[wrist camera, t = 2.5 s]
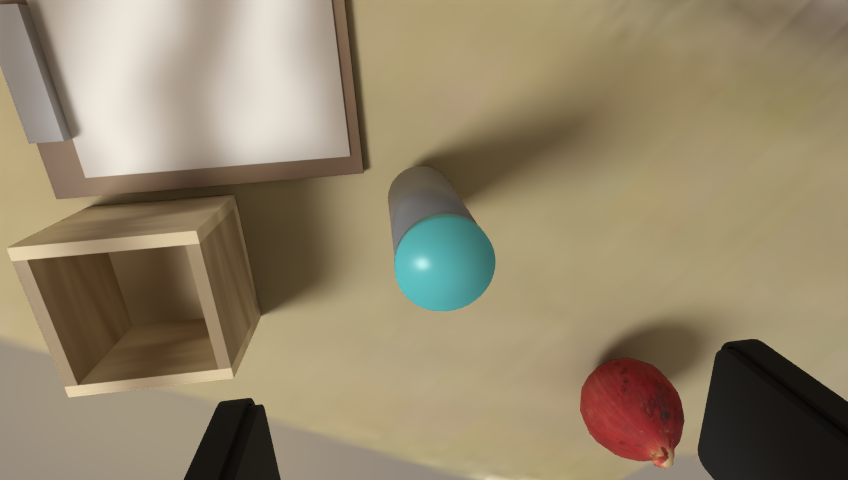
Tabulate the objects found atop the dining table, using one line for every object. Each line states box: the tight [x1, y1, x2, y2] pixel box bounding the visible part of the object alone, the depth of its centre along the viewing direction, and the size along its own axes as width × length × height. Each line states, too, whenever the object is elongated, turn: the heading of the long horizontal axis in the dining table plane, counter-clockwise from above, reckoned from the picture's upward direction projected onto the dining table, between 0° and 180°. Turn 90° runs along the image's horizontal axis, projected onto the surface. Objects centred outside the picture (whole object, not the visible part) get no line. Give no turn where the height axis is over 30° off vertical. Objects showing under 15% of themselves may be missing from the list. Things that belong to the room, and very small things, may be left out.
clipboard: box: [0, 0, 364, 199], centre depth 23 cm, size 16×12×1 cm
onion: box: [580, 358, 684, 469], centre depth 29 cm, size 6×6×8 cm
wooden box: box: [6, 194, 261, 397], centre depth 24 cm, size 8×8×6 cm
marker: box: [388, 166, 495, 311], centre depth 22 cm, size 4×4×10 cm
